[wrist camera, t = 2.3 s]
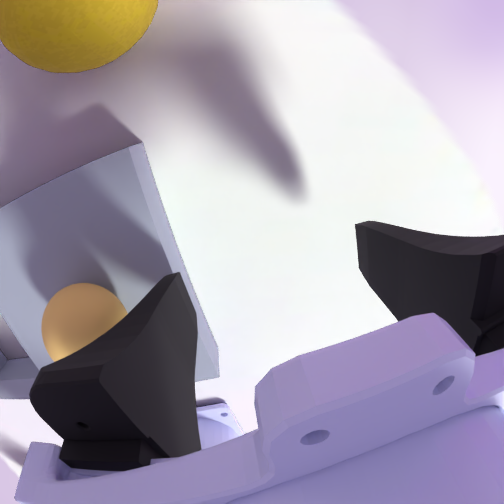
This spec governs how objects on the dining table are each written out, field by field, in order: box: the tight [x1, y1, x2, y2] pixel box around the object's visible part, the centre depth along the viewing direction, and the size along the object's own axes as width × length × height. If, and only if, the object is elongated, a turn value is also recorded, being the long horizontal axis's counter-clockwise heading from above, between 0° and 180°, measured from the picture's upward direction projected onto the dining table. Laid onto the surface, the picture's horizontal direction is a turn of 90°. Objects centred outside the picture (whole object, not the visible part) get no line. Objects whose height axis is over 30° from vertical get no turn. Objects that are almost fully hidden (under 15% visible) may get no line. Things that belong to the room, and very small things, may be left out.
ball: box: [41, 283, 128, 362], centre depth 11 cm, size 4×4×4 cm
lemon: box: [0, 0, 158, 73], centre depth 6 cm, size 6×6×8 cm
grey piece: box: [0, 142, 219, 399], centre depth 13 cm, size 12×20×4 cm, turn 104°
